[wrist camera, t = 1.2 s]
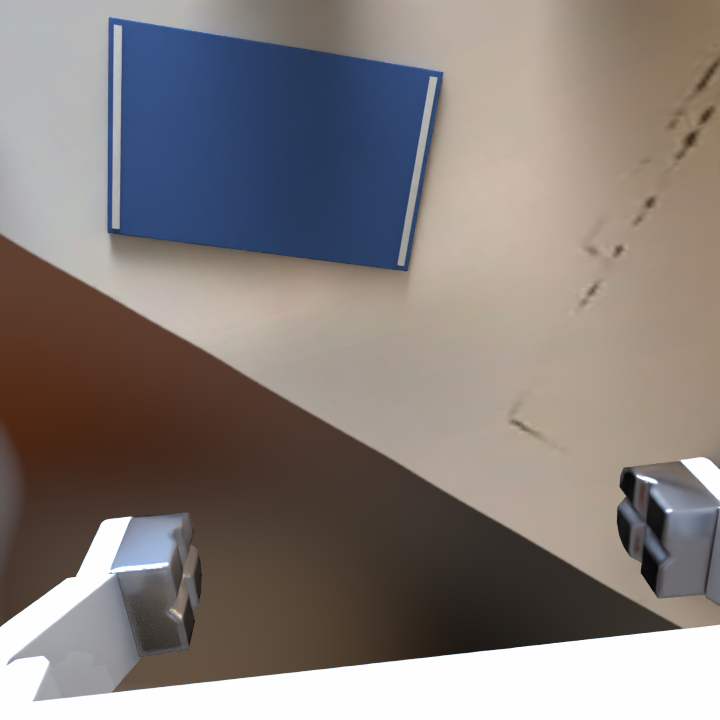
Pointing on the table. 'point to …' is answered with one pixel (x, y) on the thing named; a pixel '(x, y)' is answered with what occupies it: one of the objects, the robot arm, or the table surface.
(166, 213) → the cloth
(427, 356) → the table surface
